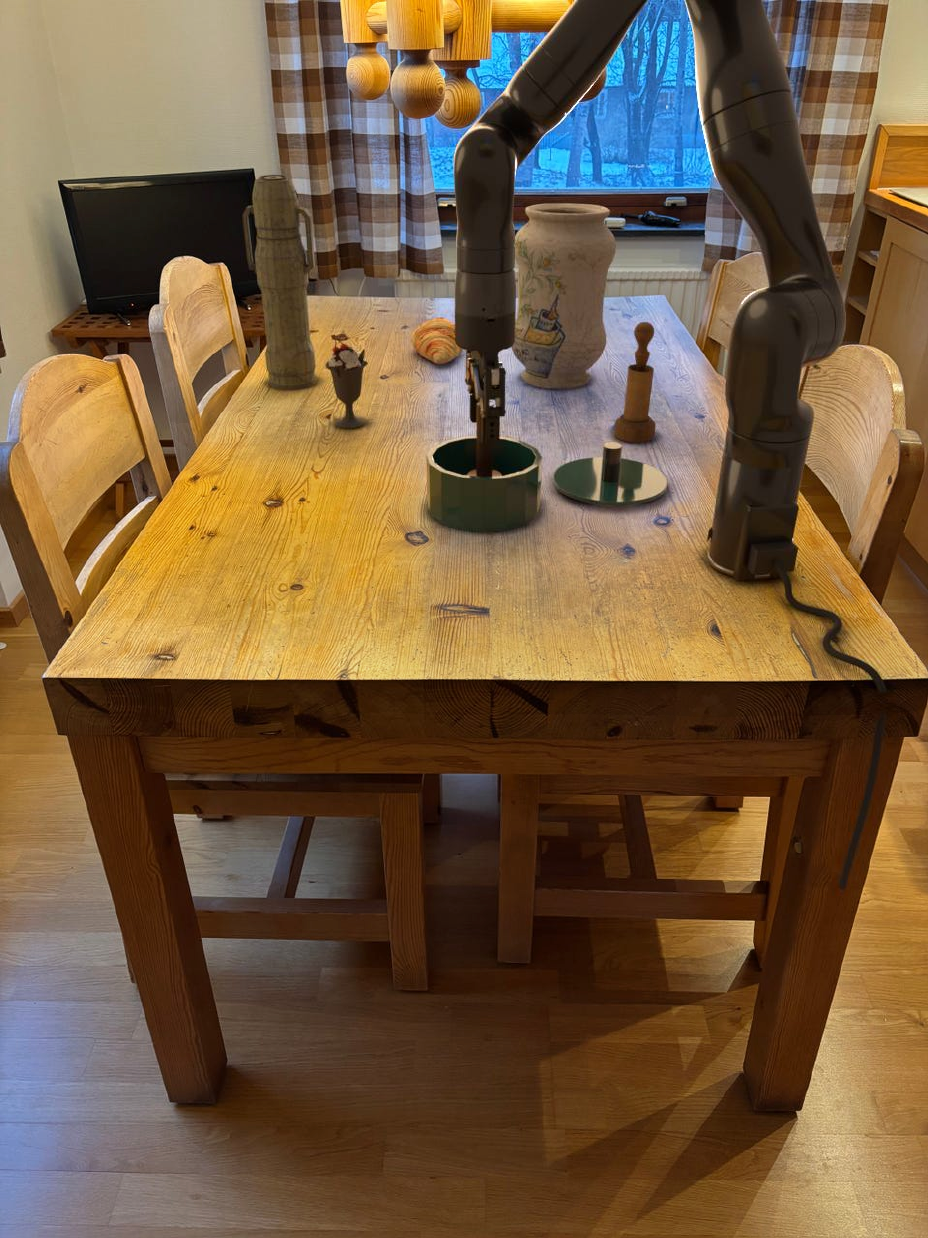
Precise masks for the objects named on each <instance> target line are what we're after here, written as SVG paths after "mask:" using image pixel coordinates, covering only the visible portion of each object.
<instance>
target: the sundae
mask: <svg viewBox="0 0 928 1238" xmlns="http://www.w3.org/2000/svg"><path fill="white" fill-rule="evenodd" d="M330 337H331V338H332V339H334V342H335V344H334V347H333V348H332V354H331V355H330V357H329V359H328V360H327V362H325V369H328V370H329V371H330V374H331V378H332V383H333V389H334V393H335V396H336V398H337V399H338V400H339V402H341V403H343V404H344V406H345V414H344V417H343V418H339V419H337V420H336V421H335V424H334V425H335V426H336V427H338V428H340V429H346V430H353V429H358V428H361V427H363V426H364V425H365V424H366V422H365V420H364V419H363V418H359V417H356V416H355V414H354V408H353V407H354V406H353V405H354V403H355V402H356V401H358V400H359V398H360V396H361V393H362V387H363V374H364V368H365V367H367V366H368V364H369V363H368V361H366V360H364V359H365V357H366V353H365V352H366V351H365V349H364V348H363V349H362V351H361V352H360V353H359V354H358V351H357V350H355V349H354V347H352V346H348V344H346V343H343V342H342V341H341V340H340V339H339V338H338V337H337V336H336V334H331V335H330ZM337 340H338V341H337ZM337 342H339V343H340V345H339V346H340V347H339V346H337Z"/></svg>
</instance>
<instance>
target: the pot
mask: <svg viewBox="0 0 928 1238" xmlns="http://www.w3.org/2000/svg"><path fill="white" fill-rule="evenodd" d="M425 459H426V498H427V500H426V501H427V507H428V508H427V509H428V512H429V514H430V516H431V517H432V518H433V519H434V520H435V521H437V522H438V523H440V524H442V525H444V526H446V527H449V528H452V529H456V530H460V531H466V532H474V533H491V532H492V533H496V532H503V531H510V530H514V529H516V528H517V529H518V528H520V527H522V526H525V525H527V524H529V523H530V522H532V521H533V520H534V519H535V518H536V517H537V516H538V515H539V512H540V507H541V499H542V498H541V496H542V477H543V475H542V473H543V456H542V454H541V453H540V451H539V449H538V448H536V447H535V446H532V445H531V444H529V443H527V442H525V441H523V440H518V439H514V438H510V437H505V436H500V439H499V444H497V445H493V468H492V470H496V471H498V472H500V473H501V475H502V476H494V477H477V476H467V474H468V473H469V472H470V471H472V470H476V435H473V436H472V435H471V436H470V435H469V436H461V437H457V438H453V439H447V440H445V441H443V442H440V443H438V444H437V445H434V446H432V447H431V449H430V450H429V452H428V453H427V455H426V457H425Z"/></svg>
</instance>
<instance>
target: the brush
mask: <svg viewBox="0 0 928 1238" xmlns="http://www.w3.org/2000/svg"><path fill="white" fill-rule="evenodd" d="M494 405H495V404H494V402H492V401H489V407H495V406H494ZM475 425H476V429H475V431H476V432H475V433H476V435H475V436H476V470H472V471H470V472H469V473H468V474H467V476H477V477H494V476H502V475H501V473H500V472H498V471H496V470H492V468H493V445H490V446H485V445H483V443H482V441H481V438H482V415H481V406H480V402H478V403H477V423H476V424H475Z"/></svg>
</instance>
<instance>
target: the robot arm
mask: <svg viewBox="0 0 928 1238" xmlns="http://www.w3.org/2000/svg"><path fill="white" fill-rule="evenodd" d="M648 1H649V0H574V1H573V2H572V4H571V5H570V6H568V8H567V10H566V11H565V12H564V13H563V15H562V16H561V17H560V19H559V20H557V22H556V23H555V24H554V26H553V27H552V28H551V30H550V31H548V33H547V34H546V36H544V37H543V39H542V40H541V42H540V43H539V44H538V45H537V47H536V48H535V49H534V50H533V51H532V52H531V54H530V55H529V56H528V57H527V59H526V60H525V61H524V62H523V63H522V65H521V66H520V67H519V68H518V69H517V71H516V72H515V73H514V75H513V77H512V78H511V80H510V81H509V82H508V84H507V87H506V88H505V89H504V91H503V92H502V93H501V94H500V95H499V96H498V97H497V98H496V99H495V101H493V103H491V105H490V106H489V107H488V108H487V109H486V111H484V113H482V115H481V116H480V117H479V118H478V119H477V121H476V122H475V123H474V124H472V126H471V127H470V128H469V129H468V130H467V131H466V132H465V134H464V135H462V137H461V138H460V139H459V141H458V143H457V145H456V147H455V150H454V154H453V187H454V189H453V190H454V199H455V210H456V219H457V225H456V226H457V227H456V229H457V230H456V240H455V241H456V242H455V244H456V245H455V247H456V251H455V253H456V256H455V257H456V258H455V259H456V268H455V269H456V270H455V271H456V272H455V280H454V324H455V343H456V345H457V346H458V347H459V348H461V349H462V350H464V351H465V378H464V383H465V385H466V386H467V388H466V389H467V392H468V395H469V420H470V422H471V423H472V424H477V403H478V402H480V406H481V415H482V438H481V441H482V443H483V445H485V446H490V445H497V444H499V439H500V437H501V436H500V435H501V434H500V429H501V417H502V418H503V417H506V413H507V411H506V375H507V370H506V368H505V367H504V365H503V364H504V363H503V362H502V361H501V362H500V360H499V359H500V358H499V353H500V352H502V351H505V350H509V349H512V348H511V347H512V346H513V345H514V343H515V319H516V317H517V281H516V272H515V271H516V270H515V268H516V267H515V266H516V259H515V236H516V229H515V224H514V208H515V207H514V205H515V189H516V188H515V187H516V186H515V185H516V173H517V170H518V169H519V167H520V166H521V165H522V164H523V163H524V161H525V160H526V159H527V158H528V157H529V155H530V154H531V153H532V151H533V150H534V149H535V148H536V147H537V145H538V144H539V143H540V141H541V140H542V139H543V138H544V136H546V134H548V133H549V132H550V131H551V132H552V130H553V129H555V128H556V127H557V126H558V125H559V124H560V123H561V122H562V121H563V120H564V119H565V118H566V117H567V115H569V114H570V112H572V110H573V109H574V108H575V107H576V105H577V104H578V103H579V102H580V101H581V100H582V98H583V97H584V96H585V95H586V94H587V93H588V92H589V90H590V89H591V88H592V86H594V84H595V83H596V82H597V80H598V79H599V78H600V76H601V75H602V74H603V72H604V71H605V69H606V68H607V66H608V65H609V63H610V62H611V60H612V59H613V57H614V55H615V53H616V52H617V50H618V49H619V46H620V45H621V44H622V42H623V40H624V38H625V37H626V35H627V33H628V31H629V29H630V28H631V27H632V25H633V23H634V21H635V20H636V19H637V17H638V15H639V14H640V12H641V10H642V9H643V8H644V7H645V5H646V4H647V3H648ZM684 3H685V7H686V11H687V13H688V18H689V22H690V25H691V30H692V35H693V36H692V37H693V43H694V44H693V45H694V63H695V65H694V66H695V82H696V94H697V103H698V109H699V116H700V122H701V126H702V131H703V137H704V139H705V144H706V149H707V155H708V158H709V162H710V165H711V169H712V172H713V174H714V175H713V176H714V177H715V179H716V181H717V183H718V184H719V186H720V188H721V190H722V191H723V193H724V194H725V196H726V197H727V199H728V200H729V202H730V203H731V204H732V206H733V208H734V209H735V210H736V211H737V213H738V214H739V215H740V217H741V218H742V220H743V221H744V222H745V224H746V225H747V227H748V229H749V230H750V231H751V233H752V235H753V237H754V238H755V240H756V242H757V245H758V247H759V250H760V253H761V256H762V259H763V265H764V268H765V272H766V276H767V282H768V286H765V287H762V288H759V289H757V290H755V291H753V292H751V293H750V294H749V295H747V296H746V297H745V298H744V299H743V301H742V302H741V303H740V305H739V306H738V308H737V310H736V313H735V314H734V315H735V316H734V318H733V322H732V326H731V329H730V337H729V344H728V354H727V366H726V376H725V377H726V378H725V389H724V396H725V403H726V407H727V411H728V418H727V419H728V420H727V424H726V425H727V426H726V432H725V438H724V446H723V451H722V456H721V457H722V459H721V465H720V471H719V478H718V484H717V491H716V497H715V504H714V505H715V506H714V512H713V518H712V525H711V527H710V528H709V530H708V532H707V538H706V543H708V542H709V546H708V549H707V553H706V559H707V562H708V563H709V565H710V566H711V567H712V568H713V569H715V570H717V571H719V573H722V574H725V575H728V576H731V577H733V578H734V579H735V581H737V582H742V581H743V582H744V581H751V580H752V581H755V580H767V579H779V578H780V579H781V581H782V583H783V587H784V595H785V598H786V601H787V602H788V603H789V604H790V605H791V606H792V607H793V608H795V609H796V610H799V611H801V612H803V613H808V614H810V615H815V616H819V617H824V618H827V619H829V620H830V621H832V623H833V625H832V627H831V628H830V629H829V631H827V632H826V633H825V634H824V636H823V638H822V641H821V643H822V647H823V649H824V651H825V652H826V653H827V654H828V655H829V656H831V657H832V658H834V659H836V660H839V661H841V662H843V663H846V664H849V665H852V666H853V667H857V668H858V669H860V670H863V671H864V672H865V673H866V674H868V675H869V677H870V678H871V679H872V682H874V685H875V686H876V689H877V690H878V692H880V693H882V694H886V693H887V692H888V690H887V686H886V684H885V681H884V680H883V678H882V676H881V675H880V673H879V672H878V671H877V670H876V669H875V668H874V667H873V666H872V665H871V664H870V663H867V662H866V661H864V660H862V659H860V658H858V657H855V656H852V655H850V654H846V653H844V652H841V651H839V650H837V649H836V648H834V646H833V645H832V644H831V643H832V639H834V637H836V636H837V635H838V633H839V632H840V631H841V629H842V627H843V622H842V620H841V618H840V616H839V615H837V613H835V612H832V611H830V610H828V609H824V608H819V607H814V606H811V605H810V606H809V605H807V604H804V603H801V602H800V601H798V600H797V599H796V598H795V596H794V594H793V586H792V581H791V579H790V577H789V575H788V573H794V571H795V566H796V562H797V556H798V551H799V547H798V546H797V545H796V544H795V543H794V534H795V530H796V524H797V519H798V515H799V509H800V506H799V504H798V500H799V494H800V490H801V485H802V480H803V474H804V469H805V464H806V459H807V456H808V455H807V454H808V449H809V445H810V439H811V435H812V430H813V425H814V421H815V420H814V419H815V411H814V408H813V407H812V405H811V404H810V403H808V402H807V401H805V400H804V399H801V398H799V391H800V383H801V377H802V376H801V375H802V369H804V368H807V367H809V366H813V365H817V364H819V363H821V362H824V361H826V360H827V359H829V358H831V357H832V356H833V355H834V354H835V353H836V352H837V350H838V349H839V348H840V346H841V344H842V342H843V339H844V337H845V333H846V328H847V314H846V313H847V312H846V307H845V302H844V298H843V293H842V290H841V287H840V284H839V280H838V278H837V275H836V271H835V269H834V265H833V263H832V259H831V257H830V254H829V250H828V248H827V244H826V242H825V237H824V235H823V231H822V228H821V224H820V220H819V216H818V212H817V208H816V203H815V198H814V193H813V188H812V184H811V180H810V177H809V176H810V175H809V172H808V171H809V170H808V167H807V163H806V159H805V154H804V153H805V152H804V148H803V143H802V136H801V129H800V124H799V121H798V115H797V110H796V106H795V101H794V95H793V90H792V86H791V82H790V79H789V75H788V71H787V68H786V65H785V61H784V58H783V55H782V52H781V49H780V46H779V43H778V41H777V38H776V36H775V33H774V30H773V27H772V25H771V23H770V21H769V18H768V15H767V12H766V9H765V5H764V1H763V0H684ZM490 401H494V402H495V406H494V407H489V402H490ZM886 720H887V713H884V714H878V715H877V717H876V722H875V727H874V734H873V741H872V749H871V756H870V757H871V758H870V762H869V768H868V774H867V779H866V784H865V789H864V794H863V797H862V801H861V805H860V808H859V812H858V815H857V819H856V821H855V822H856V823H855V826H854V829H853V832H852V836H851V839H850V842H849V846H848V848H847V853H846V855H845V859H844V863H843V867H842V871H841V874H840V878H839V882H838V886H837V887H838V888H839V889H840V890H846V889H847V886H848V885H847V884H848V881H849V876H850V873H851V870H852V866H853V863H854V859H855V856H856V852H857V849H858V846H859V843H860V839H861V836H862V833H863V829H864V826H865V823H866V820H867V816H868V812H869V809H870V806H871V802H872V797H873V793H874V789H875V784H876V780H877V776H878V771H879V770H878V769H879V765H880V758H881V751H882V743H883V738H884V737H883V736H884V730H885V724H886Z"/></svg>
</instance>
